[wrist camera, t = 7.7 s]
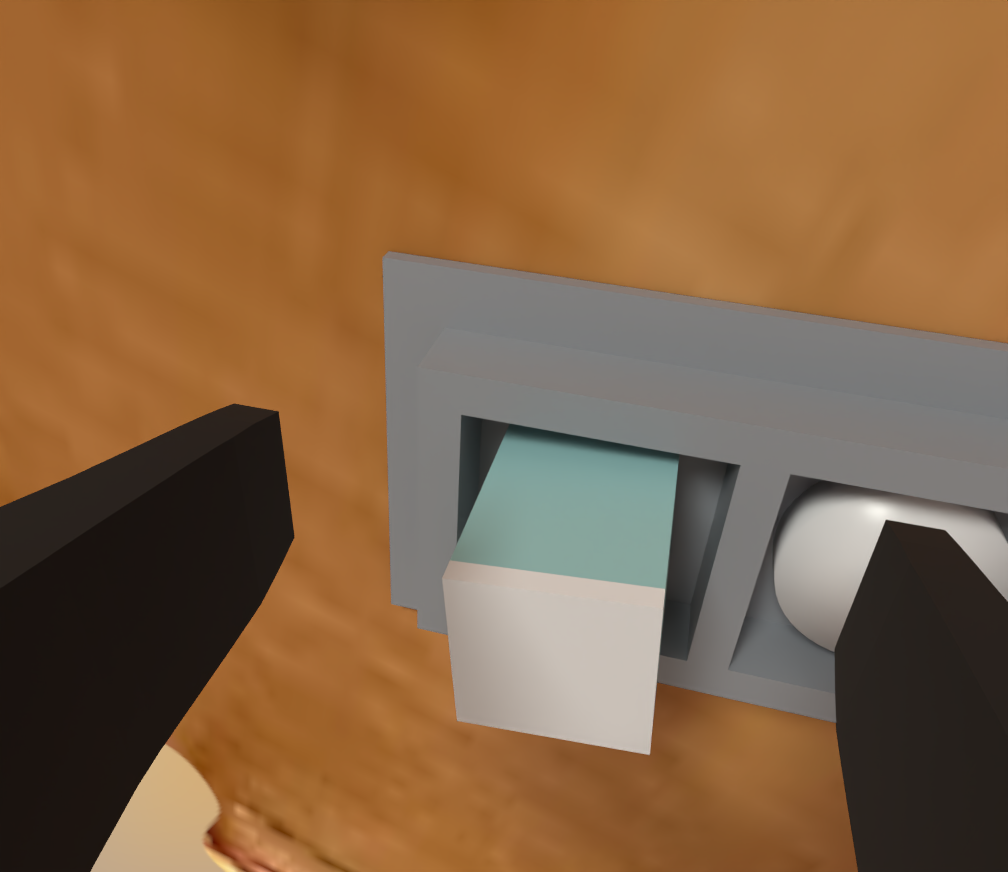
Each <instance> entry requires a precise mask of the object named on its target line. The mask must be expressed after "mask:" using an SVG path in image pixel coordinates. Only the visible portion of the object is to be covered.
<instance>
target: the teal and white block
mask: <svg viewBox="0 0 1008 872" xmlns="http://www.w3.org/2000/svg"><path fill="white" fill-rule="evenodd" d="M678 465H679V454H676V453H671V452H665V451H660V450H654V449H648V448H643V447H637V446H632V445H626V444H621V443H615V442H610V441H604V440H599V439H593V438H588V437H582V436H576V435H571V434H565V433H560V432H554V431H549V430H543V429H538V428H532V427H527V426H521V425H516V424H509V427H508V429H507V431H506V433H505V436H504V438H503V440H502V443H501V445H500V447H499V449H498V452H497V454H496V456H495V459H494V461H493V463H492V465H491V468H490V470H489V472H488V475H487V477H486V479H485V481H484V484H483V486H482V488H481V491H480V493H479V495H478V497H477V500H476V502H475V504H474V506H473V509H472V511H471V513H470V516H469V518H468V520H467V522H466V525H465V527H464V529H463V532H462V534H461V536H460V538H459V541H458V543H457V545H456V548H455V550H454V552H453V554H452V557H451V559H450V561H449V564H448V566H447V568H446V570H445V573H444V575H443V577H442V582H443V592H444V601H445V611H446V620H447V630H448V639H449V648H450V658H451V667H452V677H453V686H454V696H455V705H456V715H457V721H461V722H467V723H472V724H478V725H484V726H489V727H495V728H500V729H506V730H512V731H517V732H523V733H529V734H534V735H540V736H546V737H551V738H557V739H563V740H568V741H574V742H579V743H585V744H591V745H596V746H602V747H608V748H613V749H619V750H625V751H630V752H636V753H642V754H647V755H650V748H651V738H652V728H653V718H654V708H655V698H656V688H657V679H658V669H659V659H660V649H661V639H662V629H663V620H664V610H665V600H666V590H667V580H668V570H669V560H670V550H671V539H672V529H673V518H674V507H675V497H676V486H677V475H678Z"/></svg>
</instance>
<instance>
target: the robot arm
mask: <svg viewBox="0 0 1008 872" xmlns="http://www.w3.org/2000/svg"><path fill="white" fill-rule="evenodd" d="M293 539H294V530H293V522H292V514H291V506H290V498H289V490H288V482H287V474H286V467H285V459H284V451H283V443H282V435H281V427H280V419H279V412H278V411H273V410H267V409H261V408H256V407H250V406H244V405H239V404H232V405H229V406H226V407H224V408H221V409H218V410H216V411H213V412H211V413H209V414H206V415H204V416H202V417H199V418H197V419H195V420H193V421H190V422H188V423H186V424H184V425H182V426H179V427H177V428H175V429H173V430H171V431H169V432H166V433H164V434H162V435H160V436H158V437H156V438H154V439H151V440H149V441H147V442H145V443H143V444H141V445H139V446H137V447H134V448H132V449H130V450H128V451H126V452H124V453H121V454H119V455H117V456H115V457H113V458H111V459H109V460H106V461H104V462H102V463H100V464H98V465H96V466H93V467H91V468H89V469H87V470H85V471H83V472H81V473H78V474H76V475H74V476H72V477H70V478H67V479H65V480H63V481H60V482H58V483H56V484H53V485H51V486H49V487H46V488H44V489H42V490H39V491H37V492H34V493H32V494H30V495H27V496H25V497H23V498H20V499H18V500H16V501H13V502H11V503H9V504H6V505H4V506H2V507H0V872H90V871H91V869H92V867H93V865H94V864H95V862H96V860H97V858H98V856H99V854H100V853H101V851H102V849H103V847H104V846H105V844H106V842H107V840H108V838H109V837H110V835H111V833H112V831H113V830H114V828H115V826H116V824H117V822H118V821H119V819H120V817H121V815H122V813H123V812H124V810H125V808H126V806H127V804H128V803H129V801H130V799H131V797H132V795H133V794H134V791H135V790H136V788H137V786H138V785H139V783H140V782H141V780H142V778H143V777H144V775H145V774H146V772H147V771H148V769H149V767H150V766H151V764H152V763H153V761H154V760H155V758H156V756H157V755H158V753H159V752H160V750H161V749H162V747H163V746H164V745H165V743H166V742H167V740H168V739H169V737H170V736H171V734H172V733H173V732H174V730H175V729H176V727H177V726H178V724H179V723H180V721H181V720H182V719H183V717H184V716H185V714H186V713H187V711H188V710H189V708H190V707H191V706H192V704H193V703H194V701H195V700H196V698H197V697H198V695H199V694H200V693H201V691H202V690H203V688H204V687H205V685H206V684H207V683H208V681H209V680H210V678H211V677H212V675H213V674H214V672H215V671H216V670H217V668H218V667H219V665H220V664H221V662H222V661H223V659H224V658H225V657H226V655H227V654H228V652H229V651H230V649H231V648H232V646H233V645H234V643H235V642H236V640H237V639H238V637H239V636H240V635H241V633H242V632H243V630H244V629H245V627H246V626H247V624H248V623H249V621H250V620H251V618H252V617H253V615H254V614H255V612H256V611H257V609H258V608H259V606H260V605H261V603H262V601H263V599H264V597H265V595H266V594H267V592H268V590H269V588H270V586H271V584H272V582H273V580H274V578H275V576H276V574H277V572H278V570H279V568H280V566H281V564H282V562H283V560H284V558H285V556H286V554H287V552H288V550H289V547H290V545H291V543H292V541H293ZM835 705H836V732H837V739H838V746H839V753H840V759H841V766H842V772H843V779H844V785H845V792H846V798H847V805H848V811H849V817H850V824H851V830H852V836H853V842H854V848H855V855H856V861H857V867H858V872H1008V601H1007V600H1006V599H1005V598H1004V597H1003V596H1002V594H1001V593H1000V592H999V591H998V590H997V588H996V587H995V586H994V585H993V584H992V583H991V581H990V580H989V579H988V578H987V577H986V576H985V574H984V573H983V572H982V571H981V570H980V569H979V567H978V566H977V565H976V564H975V563H974V562H973V560H972V559H971V558H970V557H969V556H968V555H967V553H966V552H965V551H964V550H963V549H962V548H961V547H960V545H959V544H958V543H957V542H956V541H955V540H954V539H953V538H952V537H951V536H950V535H949V533H948V532H947V531H946V530H942V529H936V528H931V527H925V526H920V525H914V524H908V523H903V522H897V521H891V520H885V523H884V525H883V528H882V531H881V533H880V536H879V538H878V541H877V543H876V546H875V548H874V551H873V553H872V556H871V558H870V561H869V563H868V566H867V568H866V571H865V573H864V576H863V578H862V581H861V583H860V586H859V588H858V591H857V593H856V596H855V598H854V601H853V603H852V606H851V608H850V611H849V613H848V616H847V618H846V621H845V623H844V626H843V628H842V631H841V633H840V636H839V638H838V641H837V643H836V646H835Z"/></svg>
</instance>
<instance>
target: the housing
mask: <svg viewBox="0 0 1008 872" xmlns="http://www.w3.org/2000/svg"><path fill="white" fill-rule="evenodd" d="M383 291H384V331H385V371H386V411H387V451H388V490H389V530H390V570H391V604H394V605H398V606H403V607H407V608H411V609H416V610H418V628H420V629H424V630H428V631H433V632H437V633H442V634H446V635H448V630H447V620H446V611H445V601H444V592H443V582H442V577H443V575H444V573H445V570H446V568H447V566H448V564H449V561H450V559H451V557H452V554H453V552H454V550H455V548H456V545H457V543H458V541H459V538H460V536H461V534H462V532H463V529H464V527H465V525H466V522H467V520H468V518H469V516H470V513H471V511H472V509H473V506H474V504H475V502H476V500H477V497H478V495H479V493H480V491H481V488H482V486H483V484H484V481H485V479H486V477H487V475H488V472H489V470H490V468H491V465H492V463H493V461H494V459H495V456H496V454H497V452H498V449H499V447H500V445H501V443H502V440H503V438H504V436H505V433H506V431H507V429H508V427H509V424H516V425H521V426H527V427H532V428H538V429H543V430H549V431H554V432H560V433H565V434H571V435H576V436H582V437H588V438H593V439H599V440H604V441H610V442H615V443H621V444H626V445H632V446H637V447H643V448H648V449H654V450H660V451H665V452H671V453H676V454H679V465H678V475H677V486H676V497H675V507H674V518H673V529H672V539H671V550H670V560H669V570H668V580H667V590H666V600H665V610H664V620H663V629H662V639H661V649H660V659H659V669H658V679H657V682H658V683H662V684H666V685H671V686H675V687H680V688H684V689H689V690H693V691H697V692H702V693H706V694H711V695H715V696H719V697H724V698H728V699H733V700H737V701H741V702H746V703H750V704H755V705H759V706H763V707H768V708H772V709H777V710H781V711H786V712H790V713H794V714H799V715H803V716H808V717H812V718H816V719H821V720H825V721H830V722H834V723H836V705H835V646H836V643H837V641H838V638H839V636H840V633H841V631H842V628H843V626H844V623H845V621H846V618H847V616H848V613H849V611H850V608H851V606H852V603H853V601H854V598H855V596H856V593H857V591H858V588H859V586H860V583H861V581H862V578H863V576H864V573H865V571H866V568H867V566H868V563H869V561H870V558H871V556H872V553H873V551H874V548H875V546H876V543H877V541H878V538H879V536H880V533H881V531H882V528H883V525H884V523H885V520H891V521H897V522H903V523H908V524H914V525H920V526H925V527H931V528H936V529H942V530H946V531H947V532H948V533H949V535H950V536H951V537H952V538H953V539H954V540H955V541H956V542H957V543H958V544H959V545H960V547H961V548H962V549H963V550H964V551H965V552H966V553H967V555H968V556H969V557H970V558H971V559H972V560H973V562H974V563H975V564H976V565H977V566H978V567H979V569H980V570H981V571H982V572H983V573H984V574H985V576H986V577H987V578H988V579H989V580H990V581H991V583H992V584H993V585H994V586H995V587H996V588H997V590H998V591H999V592H1000V593H1001V594H1002V596H1003V597H1004V598H1005V599H1006V600H1007V601H1008V344H1007V343H1001V342H994V341H987V340H981V339H974V338H967V337H960V336H954V335H947V334H940V333H934V332H927V331H920V330H913V329H907V328H900V327H893V326H887V325H880V324H873V323H866V322H860V321H853V320H846V319H840V318H833V317H826V316H819V315H813V314H806V313H799V312H793V311H786V310H779V309H772V308H766V307H759V306H752V305H746V304H739V303H732V302H726V301H719V300H712V299H705V298H699V297H692V296H685V295H679V294H672V293H665V292H658V291H652V290H645V289H638V288H632V287H625V286H618V285H611V284H605V283H598V282H591V281H585V280H578V279H571V278H564V277H558V276H551V275H544V274H538V273H531V272H524V271H517V270H511V269H504V268H497V267H491V266H484V265H477V264H470V263H464V262H457V261H450V260H444V259H437V258H430V257H423V256H417V255H410V254H403V253H397V252H390V251H389V252H388V253H387V254H386V255H385V256H384V257H383Z"/></svg>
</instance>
